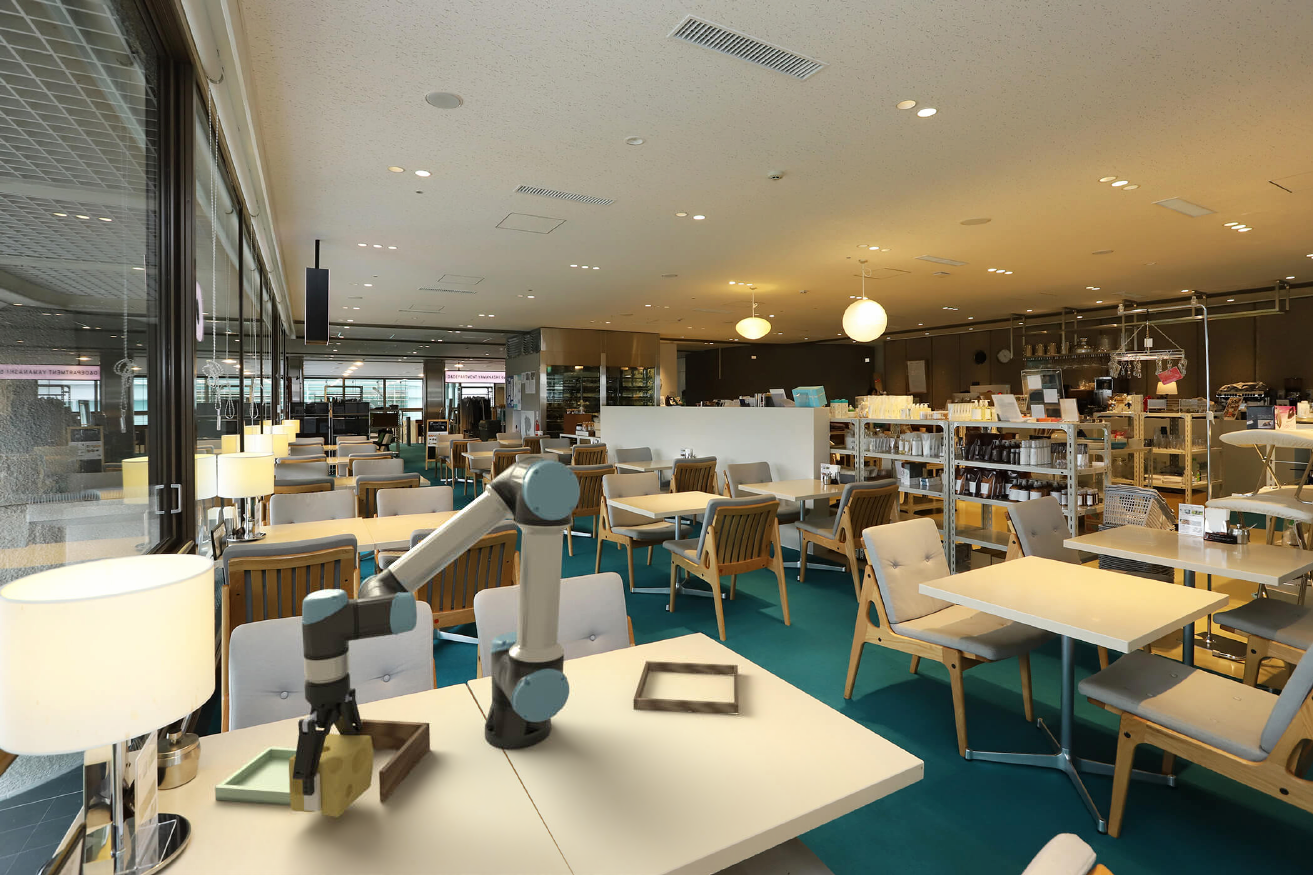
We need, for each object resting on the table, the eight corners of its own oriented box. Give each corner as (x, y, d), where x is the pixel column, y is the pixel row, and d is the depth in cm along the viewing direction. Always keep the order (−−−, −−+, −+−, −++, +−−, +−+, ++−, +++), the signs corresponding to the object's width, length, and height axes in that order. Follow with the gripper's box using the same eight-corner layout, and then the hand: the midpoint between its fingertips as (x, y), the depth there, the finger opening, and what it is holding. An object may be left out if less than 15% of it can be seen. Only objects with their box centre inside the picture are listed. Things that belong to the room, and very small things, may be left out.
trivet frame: (737, 673, 184) (737, 665, 184) (738, 714, 160) (738, 704, 160) (646, 669, 187) (646, 660, 187) (633, 709, 163) (633, 699, 163)
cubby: (430, 749, 145) (429, 722, 144) (384, 801, 126) (383, 771, 126) (361, 745, 147) (361, 718, 146) (307, 796, 128) (306, 766, 127)
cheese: (339, 818, 116) (337, 764, 116) (286, 811, 118) (284, 758, 118) (375, 784, 127) (373, 734, 126) (325, 778, 129) (324, 729, 128)
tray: (339, 761, 140) (338, 750, 140) (292, 805, 125) (291, 792, 125) (269, 757, 142) (269, 746, 142) (215, 799, 127) (215, 787, 127)
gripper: (344, 650, 133) (348, 756, 134) (264, 702, 110) (270, 829, 111) (379, 652, 132) (382, 758, 133) (306, 704, 109) (311, 832, 111)
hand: (331, 790), depth 122 cm, fingers closed on cheese, 10 cm apart
